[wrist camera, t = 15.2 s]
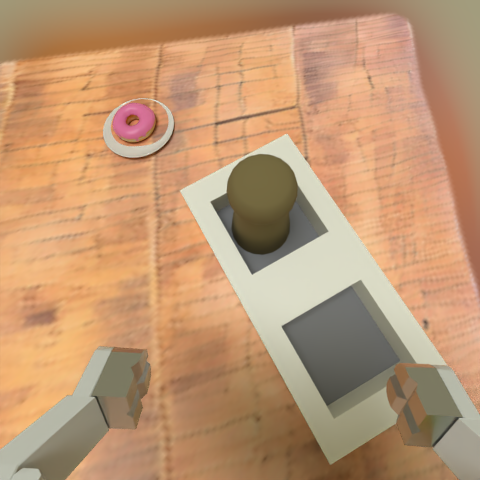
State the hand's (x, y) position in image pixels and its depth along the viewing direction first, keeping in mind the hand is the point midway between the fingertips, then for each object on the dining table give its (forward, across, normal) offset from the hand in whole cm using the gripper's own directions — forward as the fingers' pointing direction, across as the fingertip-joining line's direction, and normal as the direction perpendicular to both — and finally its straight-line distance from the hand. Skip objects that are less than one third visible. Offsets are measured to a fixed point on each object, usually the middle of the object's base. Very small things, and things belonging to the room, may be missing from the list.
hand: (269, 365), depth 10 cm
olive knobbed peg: (+21, -1, +7) cm, 22 cm away
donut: (+30, +13, +2) cm, 32 cm away
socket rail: (+17, -5, +11) cm, 21 cm away
